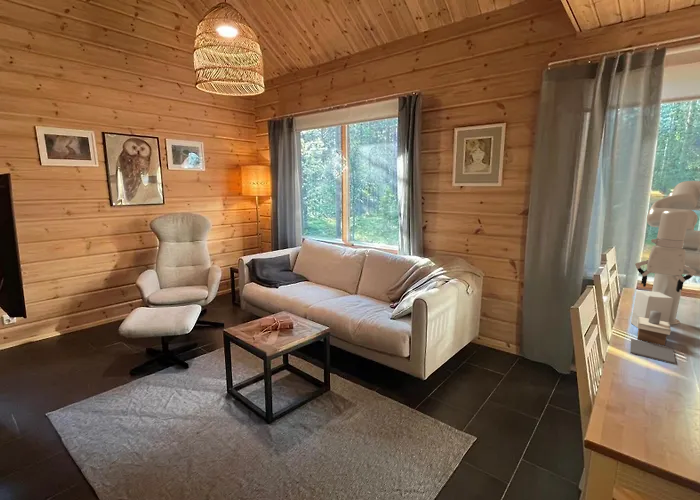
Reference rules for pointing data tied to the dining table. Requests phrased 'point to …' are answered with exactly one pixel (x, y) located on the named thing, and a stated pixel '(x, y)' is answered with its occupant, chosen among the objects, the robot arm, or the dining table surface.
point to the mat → (652, 351)
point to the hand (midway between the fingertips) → (660, 288)
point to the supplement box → (651, 305)
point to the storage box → (652, 336)
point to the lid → (654, 323)
